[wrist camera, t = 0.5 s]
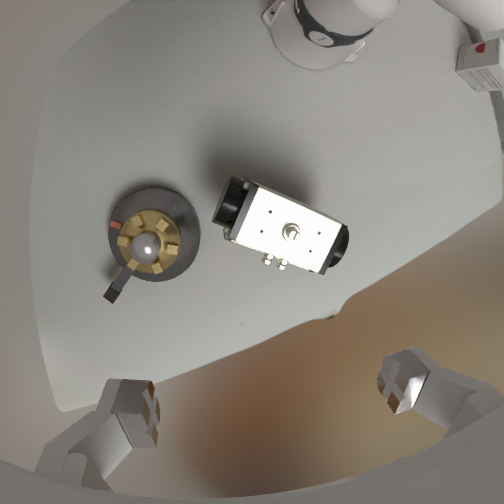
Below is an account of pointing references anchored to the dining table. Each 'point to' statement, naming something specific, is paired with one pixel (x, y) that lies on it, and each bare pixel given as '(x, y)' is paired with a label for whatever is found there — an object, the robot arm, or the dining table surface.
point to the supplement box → (482, 65)
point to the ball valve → (279, 226)
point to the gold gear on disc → (148, 241)
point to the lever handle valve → (130, 229)
